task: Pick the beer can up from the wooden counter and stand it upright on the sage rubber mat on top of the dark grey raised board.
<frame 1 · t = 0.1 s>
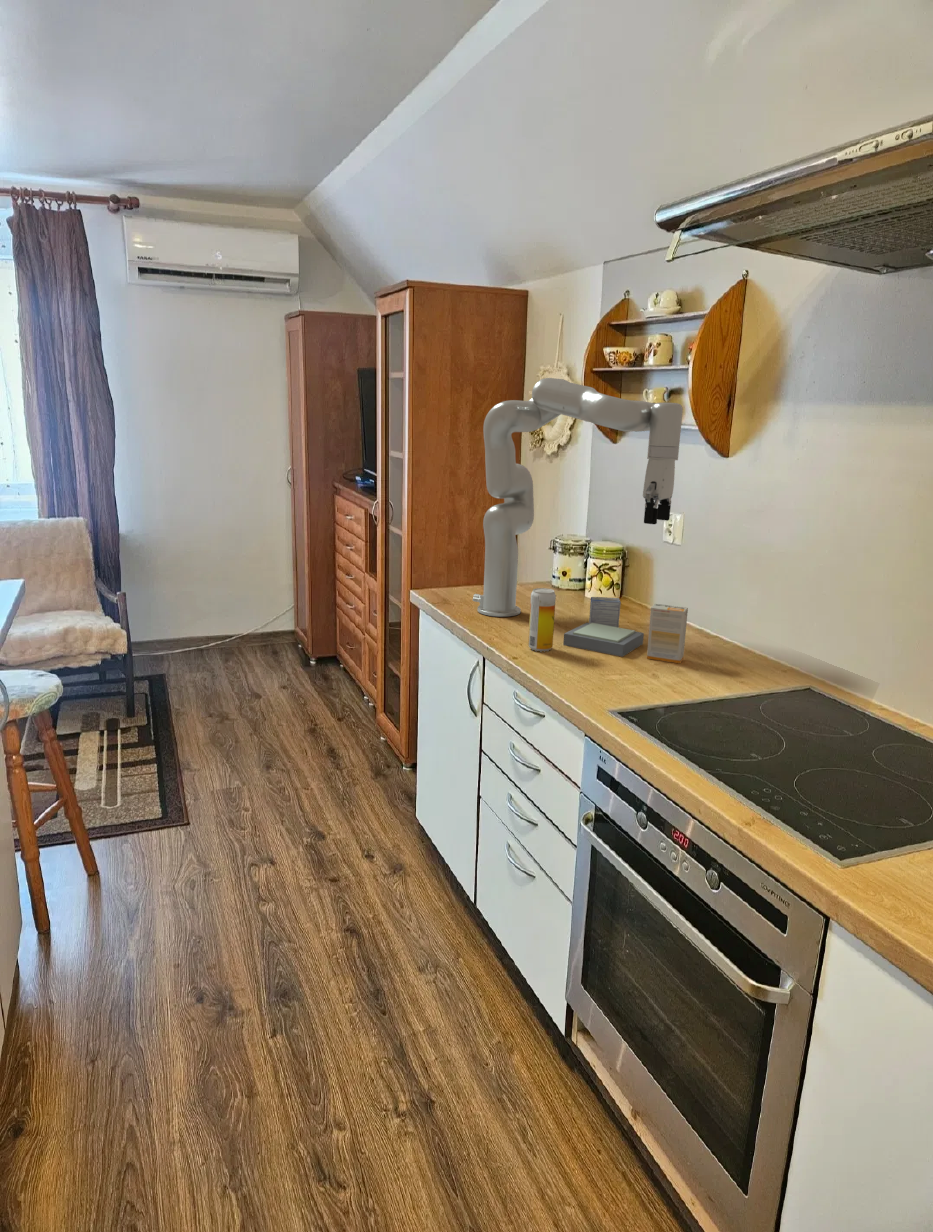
hand: (656, 521, 208), 31 cm above the worktop, tool pointing down, fingers open, 9 cm apart
raised board: (603, 644, 209), on the worktop
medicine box: (603, 630, 224), on the worktop
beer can: (540, 649, 204), on the worktop
supplement box: (664, 659, 199), on the worktop
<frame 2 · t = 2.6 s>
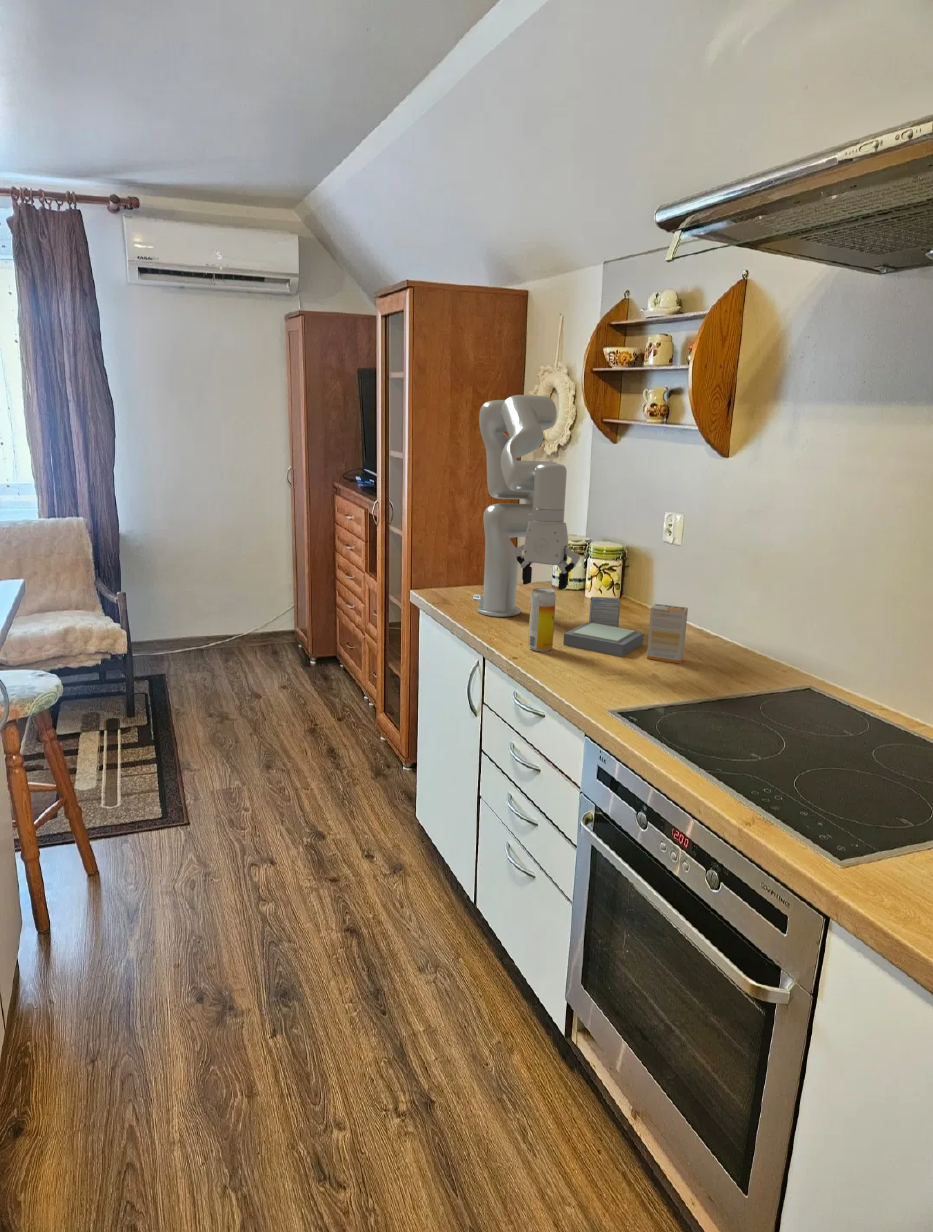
hand: (544, 586, 199), 16 cm above the worktop, tool pointing down, fingers open, 9 cm apart
nothing on the worktop moved.
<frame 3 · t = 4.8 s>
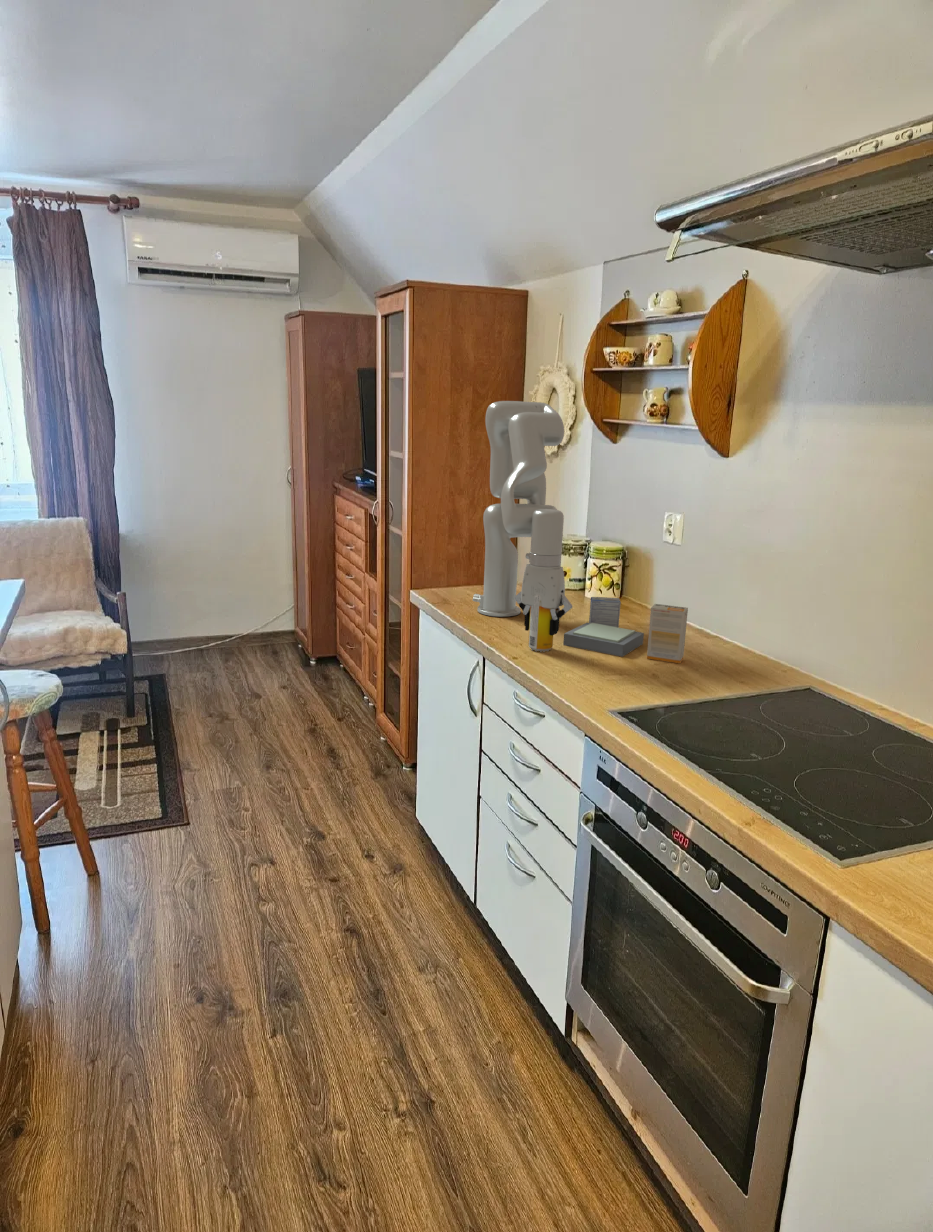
hand: (541, 631, 202), 5 cm above the worktop, tool pointing down, fingers closed on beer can, 6 cm apart
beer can: (540, 649, 204), on the worktop, touching gripper
everything else where it was.
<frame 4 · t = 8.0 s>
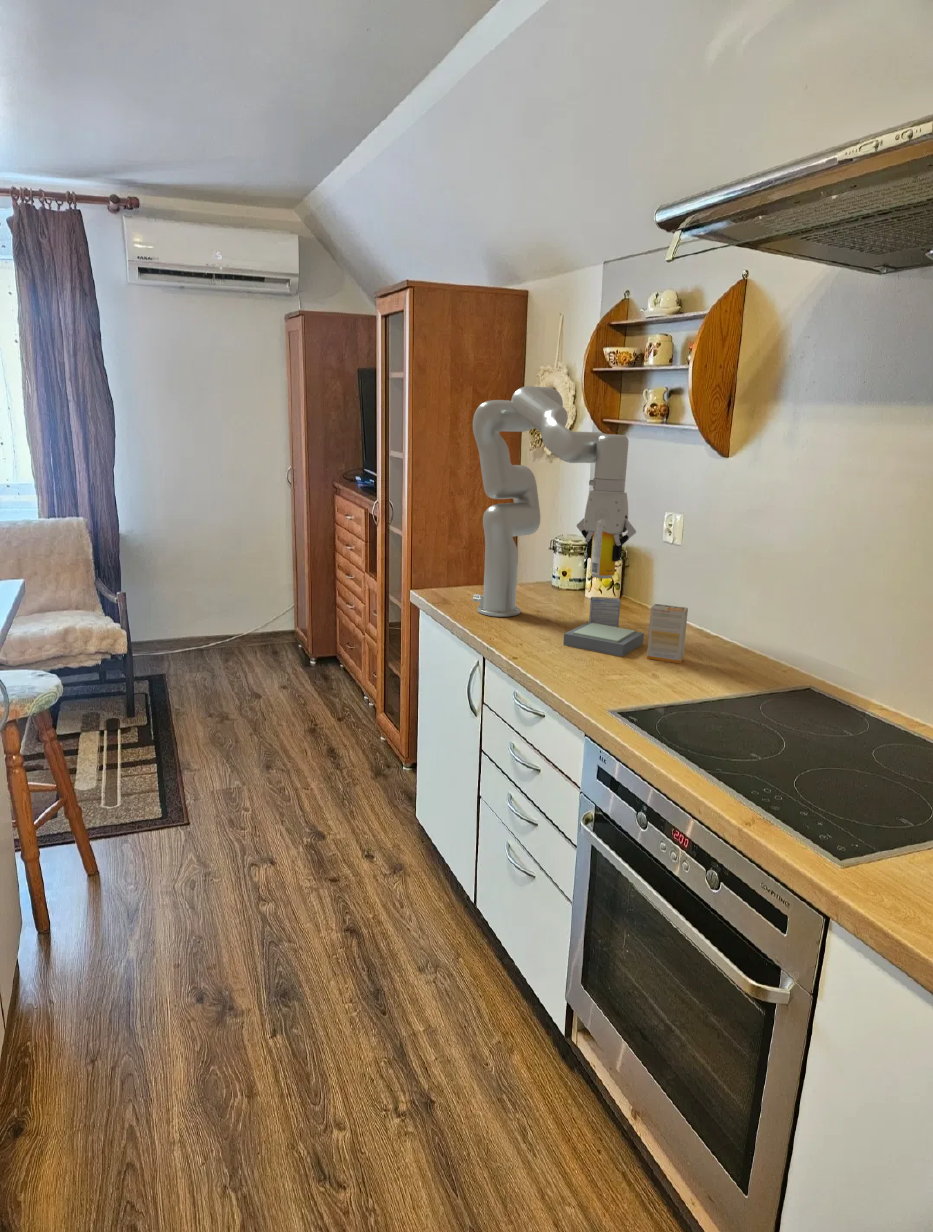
hand: (603, 558, 203), 23 cm above the worktop, tool pointing down, fingers closed on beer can, 6 cm apart
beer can: (601, 577, 204), point 18 cm above the worktop, touching gripper
everything else where it was.
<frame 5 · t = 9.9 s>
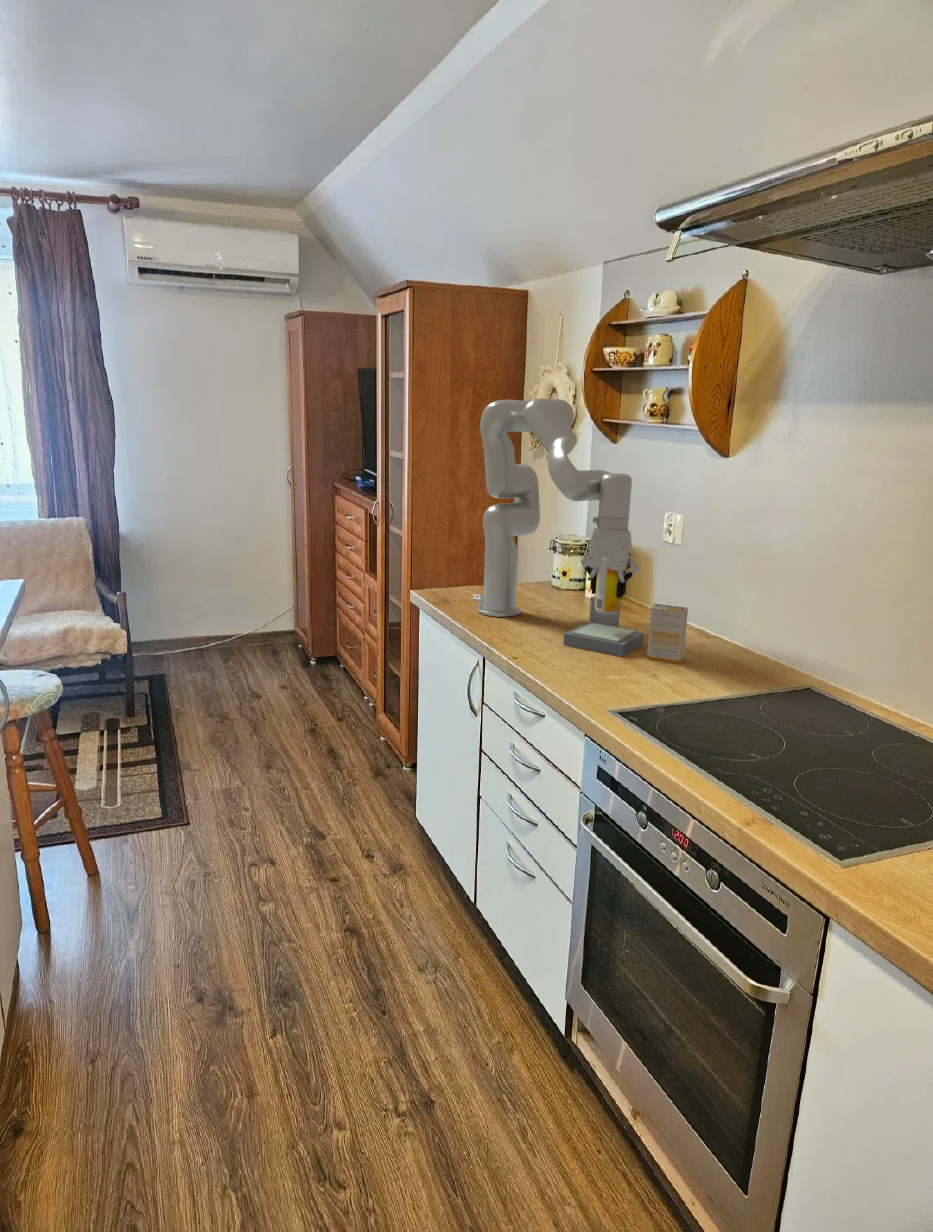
hand: (607, 594, 206), 13 cm above the worktop, tool pointing down, fingers closed on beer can, 6 cm apart
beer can: (606, 612, 207), point 8 cm above the worktop, touching gripper
everything else where it was.
when the fingers open (9 cm above the worktop, at t = 11.6 s): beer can drops 1 cm, resting on raised board.
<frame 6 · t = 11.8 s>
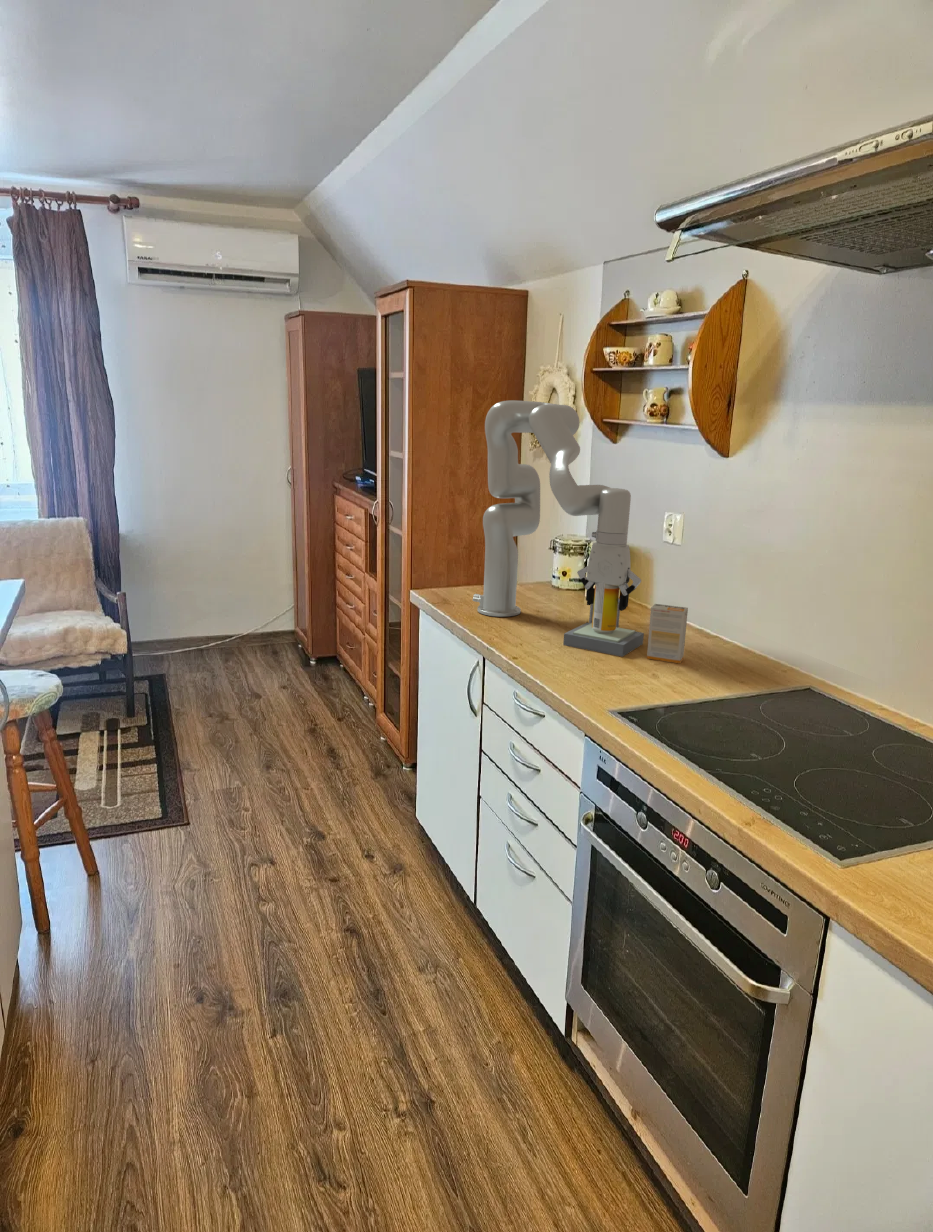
hand: (606, 606, 207), 10 cm above the worktop, tool pointing down, fingers open, 8 cm apart
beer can: (603, 631, 209), point 3 cm above the worktop, touching raised board
everything else where it was.
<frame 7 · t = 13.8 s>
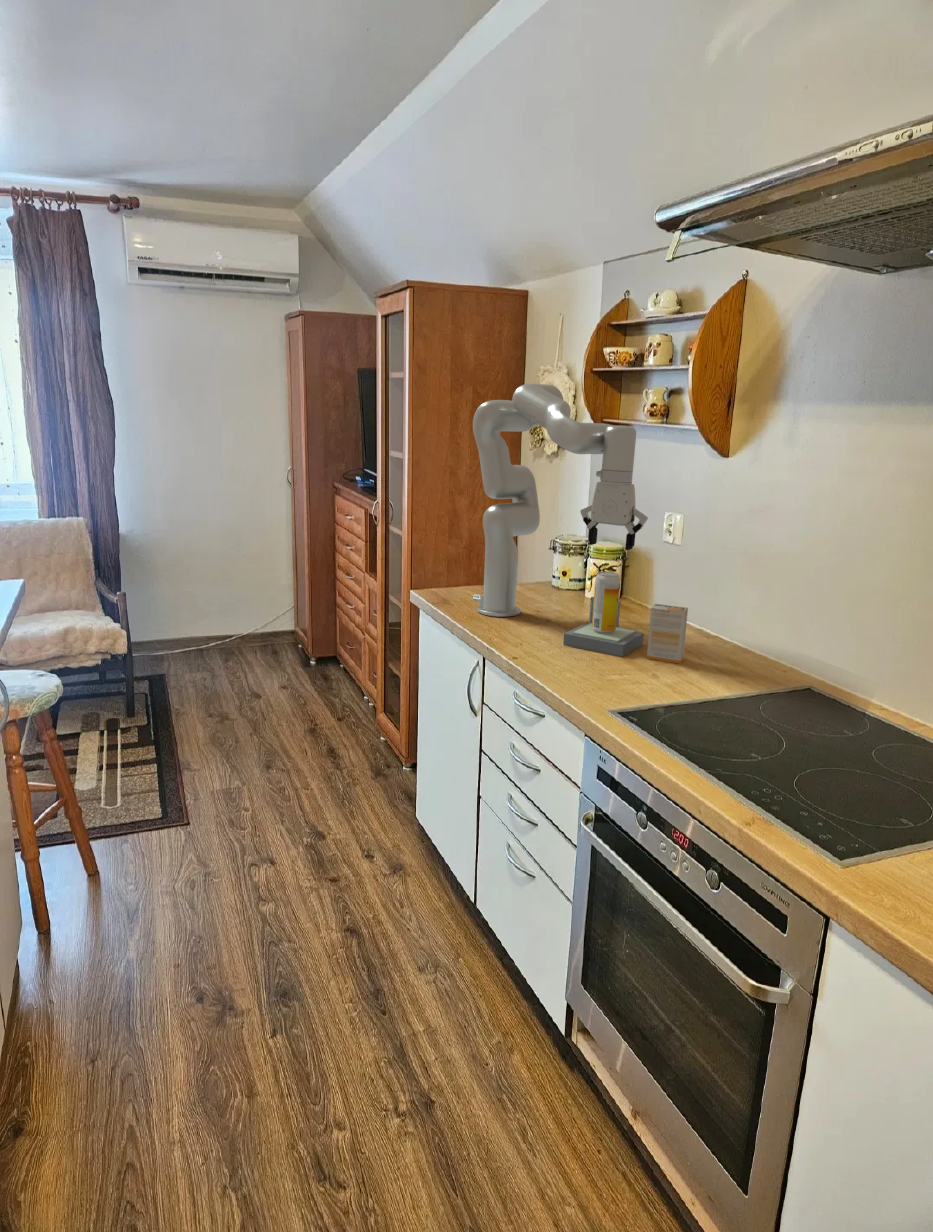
hand: (610, 546, 203), 25 cm above the worktop, tool pointing down, fingers open, 9 cm apart
nothing on the worktop moved.
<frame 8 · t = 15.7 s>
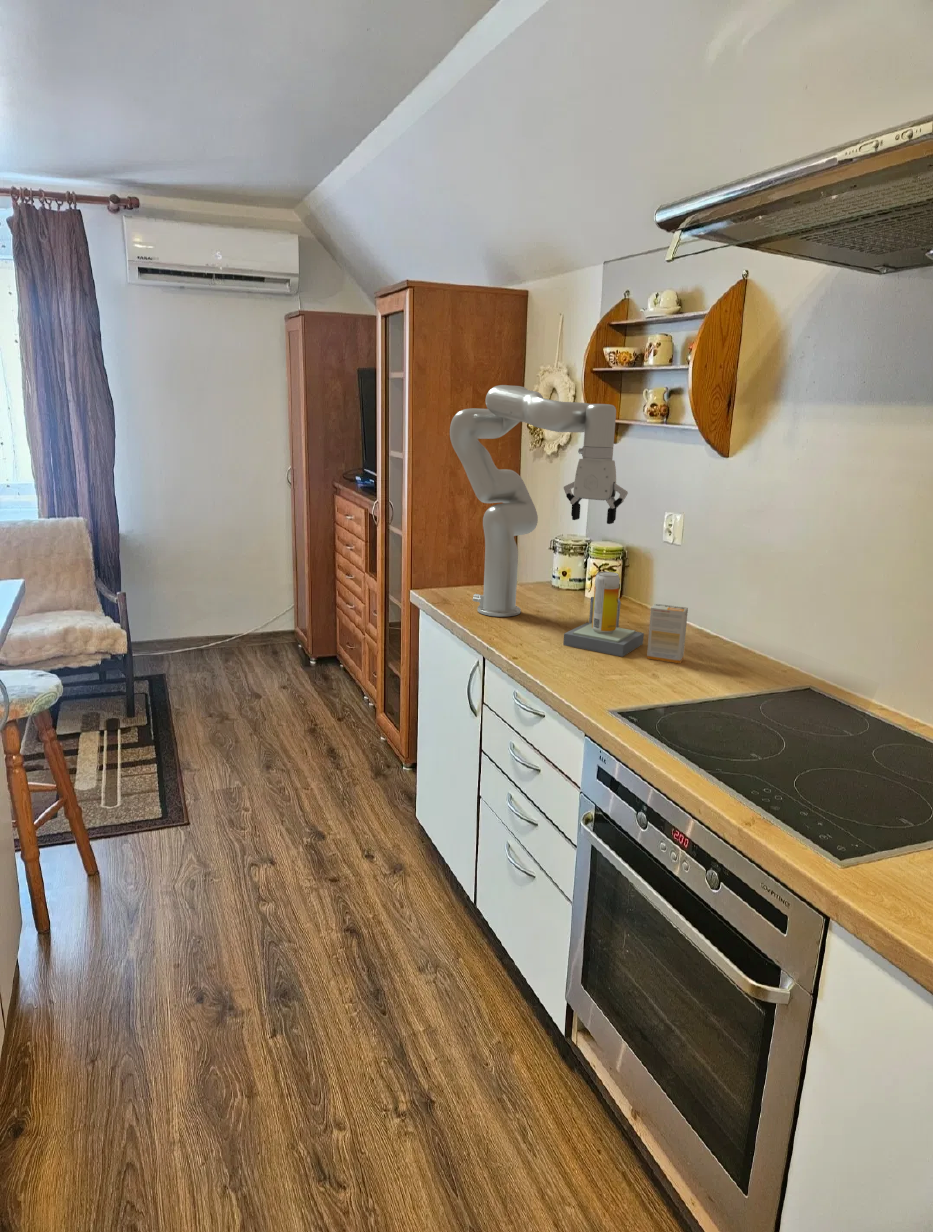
hand: (592, 521, 211), 30 cm above the worktop, tool pointing down, fingers open, 9 cm apart
nothing on the worktop moved.
at the end: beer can inside the target area on the raised board (0.3 cm from its centre), point 3.3 cm above the raised board's base; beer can tilted 0°; the gripper is holding nothing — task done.
